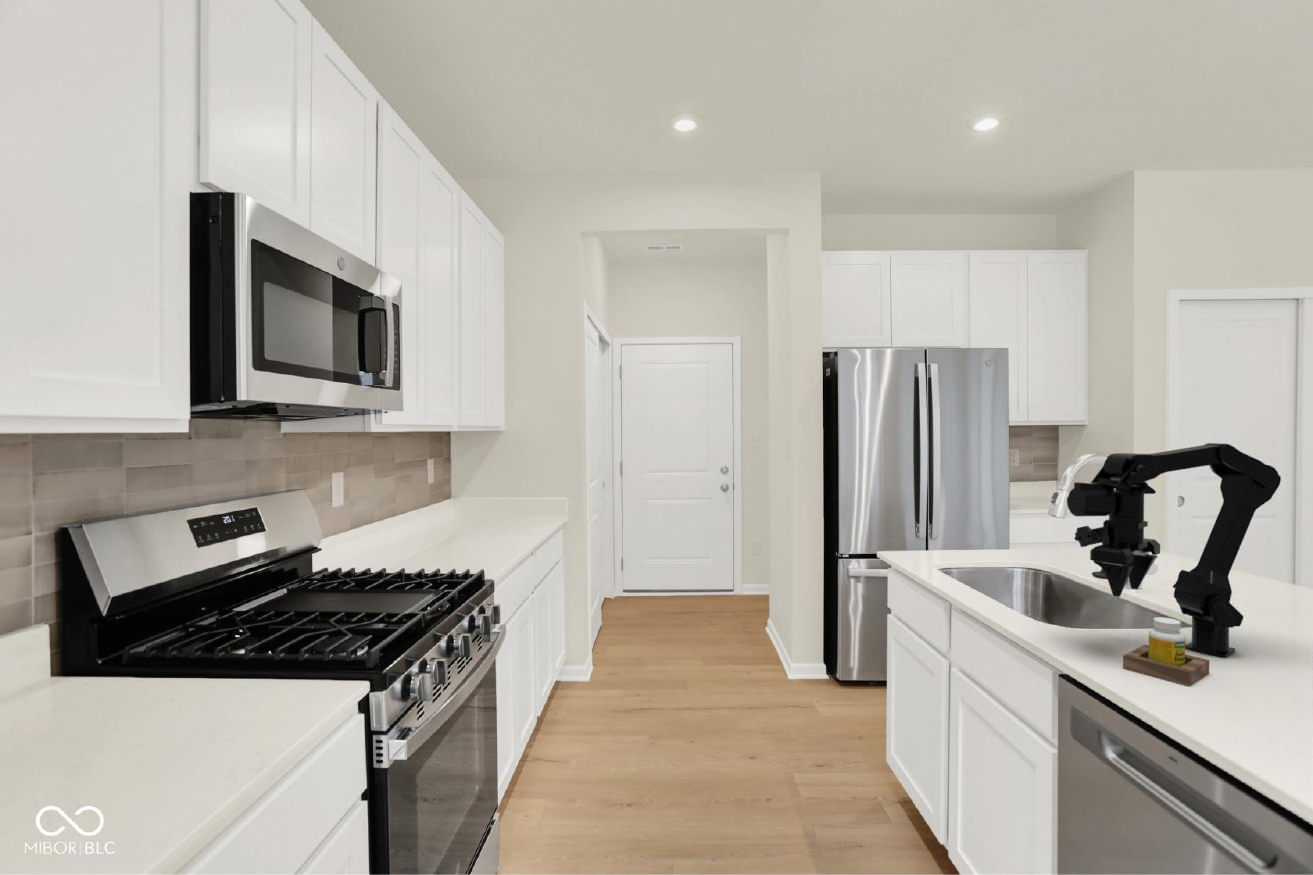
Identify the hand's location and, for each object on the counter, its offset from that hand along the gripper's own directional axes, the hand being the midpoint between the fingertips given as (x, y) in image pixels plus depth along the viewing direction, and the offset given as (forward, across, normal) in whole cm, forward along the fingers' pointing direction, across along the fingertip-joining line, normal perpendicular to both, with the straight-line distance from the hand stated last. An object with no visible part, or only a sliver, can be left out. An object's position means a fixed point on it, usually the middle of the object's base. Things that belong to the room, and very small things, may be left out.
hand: (1125, 592), depth 129 cm
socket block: (+12, +6, +8) cm, 16 cm away
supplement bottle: (+12, +6, +8) cm, 16 cm away
